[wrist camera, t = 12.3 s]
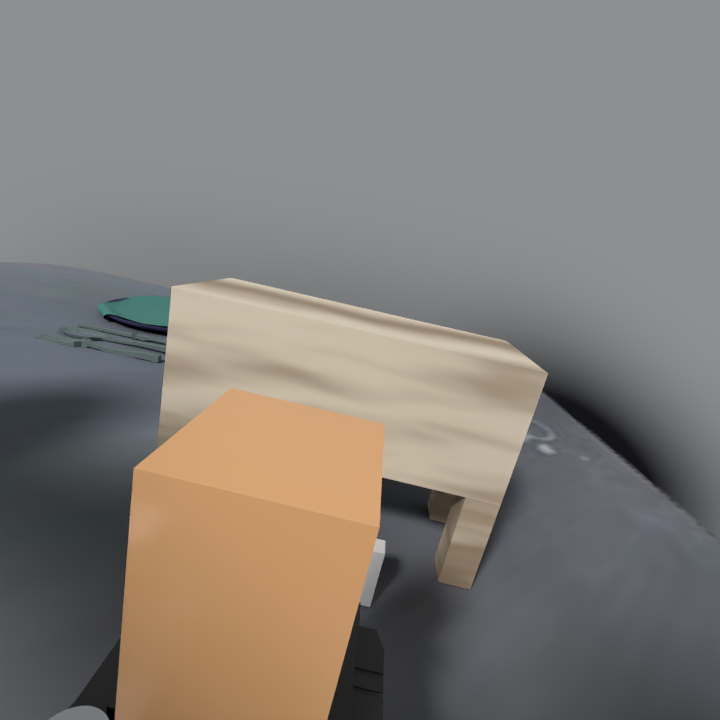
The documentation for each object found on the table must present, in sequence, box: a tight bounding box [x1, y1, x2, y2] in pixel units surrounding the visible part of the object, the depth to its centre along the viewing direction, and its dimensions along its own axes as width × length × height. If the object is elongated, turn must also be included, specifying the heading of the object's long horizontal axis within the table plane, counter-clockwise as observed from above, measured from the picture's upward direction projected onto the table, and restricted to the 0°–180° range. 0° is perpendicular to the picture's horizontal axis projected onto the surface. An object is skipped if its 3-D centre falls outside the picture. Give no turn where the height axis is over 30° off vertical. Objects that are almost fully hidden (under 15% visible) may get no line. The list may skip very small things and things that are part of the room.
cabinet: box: [157, 278, 548, 590], centre depth 27 cm, size 10×20×14 cm, turn 85°
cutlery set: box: [36, 296, 171, 363], centre depth 61 cm, size 20×30×2 cm, turn 177°
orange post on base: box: [115, 388, 385, 720], centre depth 13 cm, size 16×8×15 cm, turn 175°
